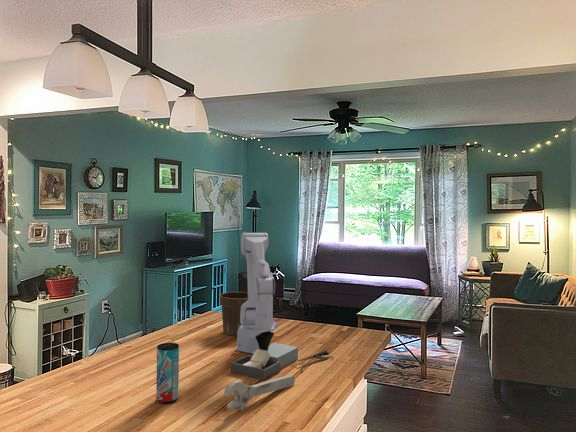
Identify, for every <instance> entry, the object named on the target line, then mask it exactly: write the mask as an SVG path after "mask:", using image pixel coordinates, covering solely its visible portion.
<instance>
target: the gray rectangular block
mask: <svg viewBox="0 0 576 432" xmlns="http://www.w3.org/2000/svg"><path fill="white" fill-rule="evenodd" d="M268 352H269V354H270V358H269V360H273V361H278V362H280V369H281V368H283V367H285V366H288V365H289V364H290V363H293V362H294V361H297V360H299V359H298V358H299V347H298V346H292V345H288V344H283V343H279V342H278V343H276V342H272V343H270V344H269V348H268ZM254 353H255V352H252V353H251V354H252V355H251V356H253V355H254Z"/></svg>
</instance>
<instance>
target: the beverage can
mask: <svg viewBox="0 0 576 432" xmlns="http://www.w3.org/2000/svg"><path fill="white" fill-rule="evenodd" d="M179 347H180V345H179V344H178V343H177V342H176V343H175V342H163V343H160V344H158V345H156V382H155V383H156V386H155V387H156V388H155V389H156V395H155V399H156V401H157V402H158V403H161V404H172V403H174V402H176V401H177V400H178V399H179V380H180V379H179V375H180V373H179V370H180V369H179V368H180V367H179V366H180V348H179Z"/></svg>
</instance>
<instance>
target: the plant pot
mask: <svg viewBox="0 0 576 432" xmlns="http://www.w3.org/2000/svg"><path fill="white" fill-rule="evenodd" d="M218 296H219V299H220V306H221V318H222V332H223V334H225V335H230V336H234V337H235V336H236V337H237V332H238V329H239V327H240V326H241V322H240V312H241V306H242V304H244V303H245V302H246V301H247V300H248V291H246V292H245V291H227V292H222V293H220V294H219V295H218ZM246 309H255V308H246Z"/></svg>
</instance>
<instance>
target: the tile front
mask: <svg viewBox="0 0 576 432" xmlns="http://www.w3.org/2000/svg"><path fill="white" fill-rule="evenodd" d="M243 365H246V366H250V367H255V368H259V369H262V363H258V362H253V361H249V362H247V363H245V364H243Z"/></svg>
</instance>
